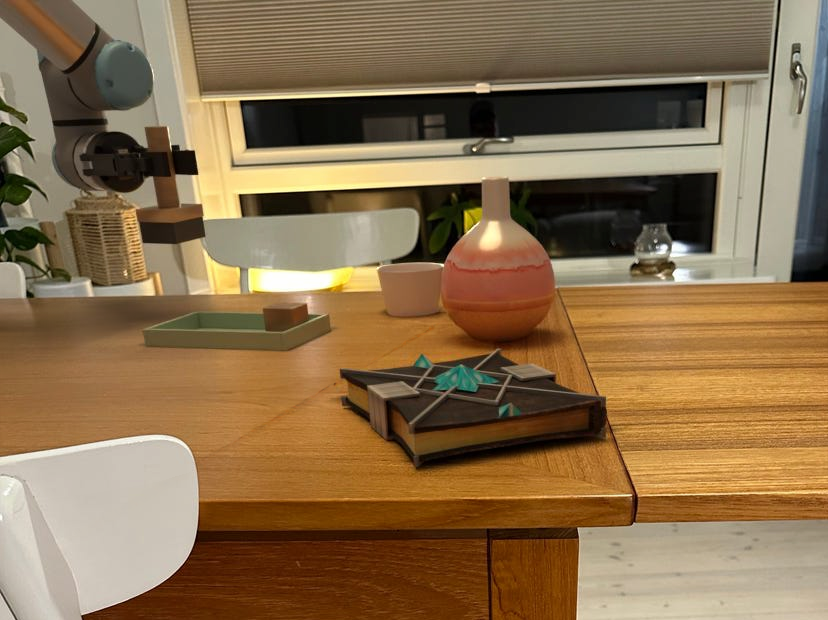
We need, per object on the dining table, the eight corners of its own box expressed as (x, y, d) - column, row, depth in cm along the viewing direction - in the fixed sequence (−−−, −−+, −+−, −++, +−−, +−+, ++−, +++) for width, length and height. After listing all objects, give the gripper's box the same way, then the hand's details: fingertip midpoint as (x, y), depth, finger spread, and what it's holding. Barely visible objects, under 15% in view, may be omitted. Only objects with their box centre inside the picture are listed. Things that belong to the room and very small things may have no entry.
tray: (146, 351, 117) (142, 329, 115) (199, 331, 127) (196, 311, 126) (287, 355, 111) (284, 332, 110) (331, 334, 122) (329, 313, 120)
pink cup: (393, 324, 126) (389, 274, 123) (371, 314, 134) (367, 266, 131) (455, 317, 129) (453, 267, 126) (431, 307, 137) (428, 260, 134)
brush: (141, 243, 121) (120, 127, 115) (172, 235, 127) (154, 125, 121) (176, 244, 120) (157, 127, 114) (207, 236, 126) (190, 125, 120)
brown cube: (266, 342, 116) (262, 308, 114) (281, 336, 119) (277, 302, 117) (296, 343, 115) (292, 308, 113) (311, 336, 118) (307, 302, 116)
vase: (577, 339, 114) (579, 175, 105) (477, 354, 108) (471, 183, 100) (517, 322, 124) (515, 172, 116) (424, 336, 119) (414, 179, 110)
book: (608, 439, 78) (609, 378, 76) (413, 471, 73) (409, 406, 70) (502, 384, 96) (501, 332, 94) (339, 406, 91) (333, 352, 88)
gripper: (171, 188, 138) (244, 192, 121) (60, 196, 129) (122, 202, 113) (161, 129, 134) (235, 126, 118) (46, 133, 126) (108, 131, 109)
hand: (180, 163), depth 115 cm, fingers closed on brush, 3 cm apart
